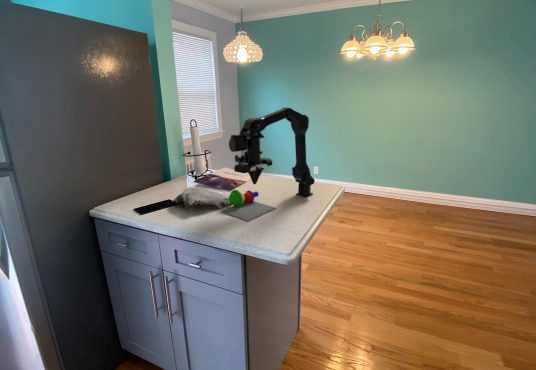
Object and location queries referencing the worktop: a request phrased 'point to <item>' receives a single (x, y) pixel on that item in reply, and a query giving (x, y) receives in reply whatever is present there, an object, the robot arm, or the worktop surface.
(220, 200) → the stone fragment
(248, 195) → the toy
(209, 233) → the worktop surface
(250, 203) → the mat
